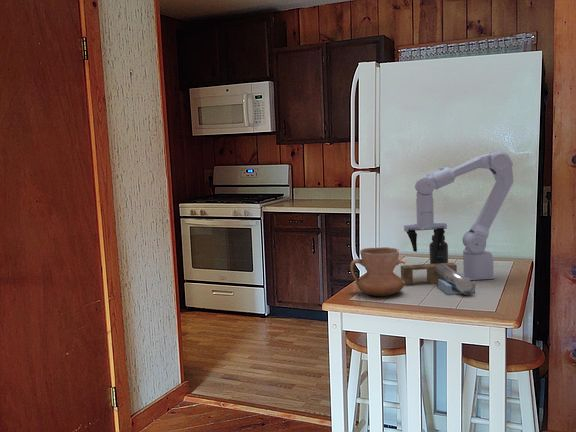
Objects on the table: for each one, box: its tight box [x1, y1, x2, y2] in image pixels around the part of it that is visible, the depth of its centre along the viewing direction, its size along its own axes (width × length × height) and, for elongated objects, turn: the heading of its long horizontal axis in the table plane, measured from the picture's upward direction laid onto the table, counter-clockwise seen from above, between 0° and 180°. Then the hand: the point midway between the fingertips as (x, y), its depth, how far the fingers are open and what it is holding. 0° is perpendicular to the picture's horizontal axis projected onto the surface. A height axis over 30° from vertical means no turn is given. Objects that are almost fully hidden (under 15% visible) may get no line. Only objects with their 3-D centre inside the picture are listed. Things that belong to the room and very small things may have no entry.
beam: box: [400, 262, 458, 287], centre depth 186 cm, size 18×4×6 cm, turn 93°
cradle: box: [437, 279, 476, 296], centre depth 175 cm, size 9×9×3 cm
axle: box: [435, 263, 476, 296], centre depth 175 cm, size 4×16×4 cm, turn 18°
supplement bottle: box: [428, 234, 449, 264], centre depth 209 cm, size 7×7×12 cm
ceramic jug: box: [350, 246, 407, 297], centre depth 176 cm, size 18×14×14 cm
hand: (425, 250), depth 191 cm, fingers open, 7 cm apart
